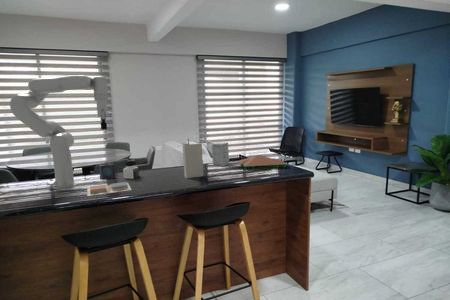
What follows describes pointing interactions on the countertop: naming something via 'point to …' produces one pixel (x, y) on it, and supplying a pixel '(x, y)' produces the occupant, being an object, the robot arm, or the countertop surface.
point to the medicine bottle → (130, 170)
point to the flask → (106, 171)
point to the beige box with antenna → (192, 160)
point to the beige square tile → (119, 186)
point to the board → (109, 190)
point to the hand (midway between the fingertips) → (104, 129)
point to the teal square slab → (98, 189)
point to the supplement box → (220, 154)
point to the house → (260, 162)
